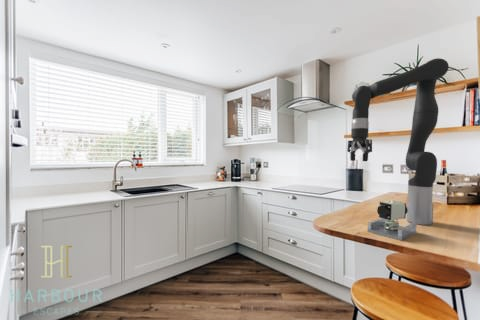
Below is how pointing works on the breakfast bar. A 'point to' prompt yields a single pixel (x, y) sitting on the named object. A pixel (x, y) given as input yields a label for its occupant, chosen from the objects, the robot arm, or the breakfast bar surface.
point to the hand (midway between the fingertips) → (358, 161)
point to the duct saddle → (399, 234)
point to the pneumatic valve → (392, 213)
